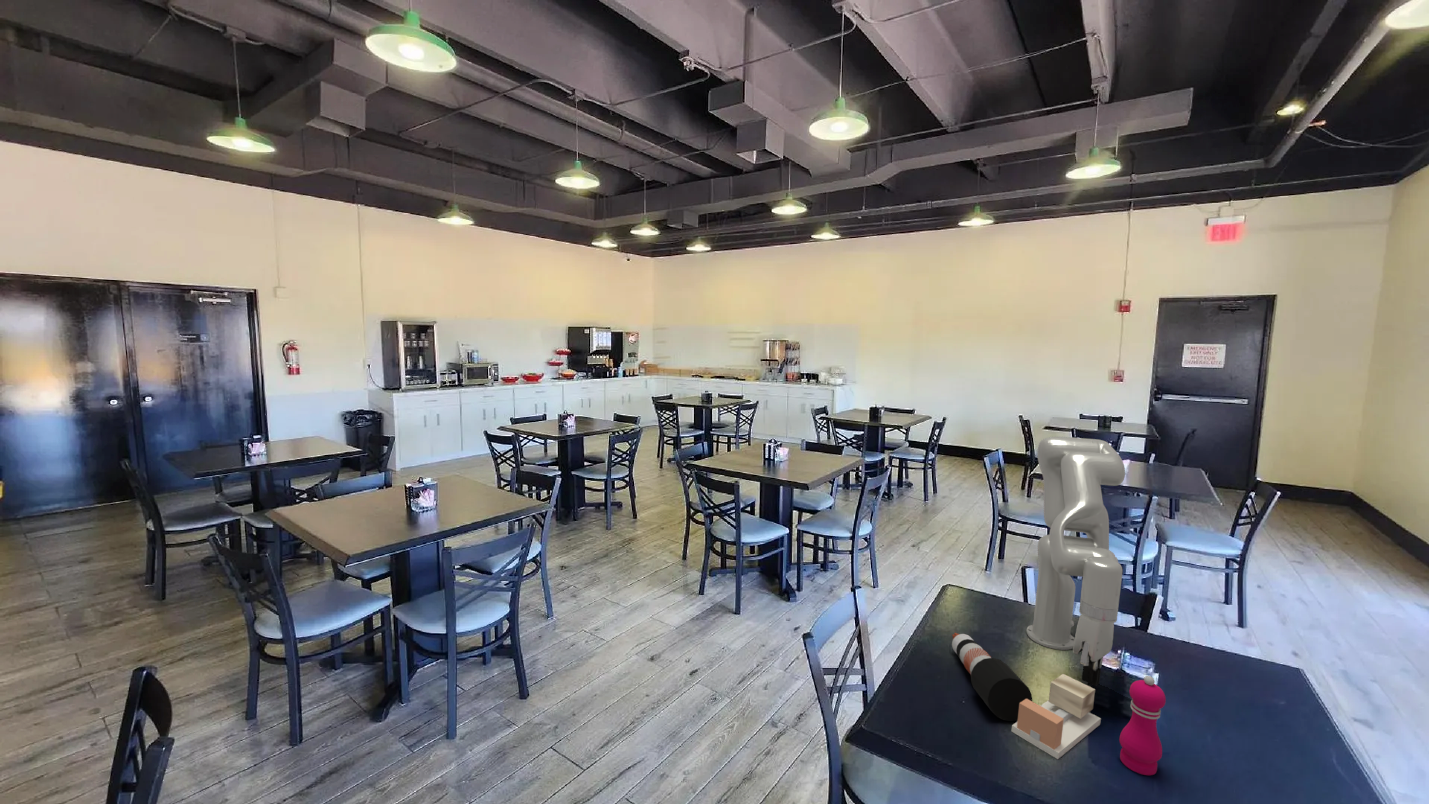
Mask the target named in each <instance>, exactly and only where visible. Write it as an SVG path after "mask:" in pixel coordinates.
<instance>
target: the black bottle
mask: <svg viewBox="0 0 1429 804" xmlns="http://www.w3.org/2000/svg"><path fill="white" fill-rule="evenodd" d="M951 636H952V642H951V646H952V649H953V651H954V652H955V654H956V655H957V657H958V658H959V659H960V662H961V663H962V664H963V666H964V668H965V669H966V671H967V672H968V673H969V674H970V682H971V685H972V687H973V689H974V691H975V692H976V693H977V694H978V696H979V697H980V698H981V699H982V700H983V702H984V703H985V705H986V707H988V708H989V710H990V712H991V713H993V715H995V716H996V718H997V719H998V718H999V719H1000V720H1003V721H1007V722H1013V721H1018V712H1019V703H1020V702H1022V701H1023V700H1025V699H1028V700H1030V701H1032V702H1033V696H1032V692H1031V689H1030V688H1029V687H1028V686H1027V685H1026V683H1025V682H1024V681H1023V680H1022V679H1021V678H1020V676H1019V675H1017V674H1016V673H1015V671H1013V670H1012V668H1011V667H1010V666H1009V665H1008V664H1007V663H1006V662H1004V661H1003V660H1001V659H999V658H996V657H992V656H991V655H990V654H989V652H987V651H986V650H984V648H983V647H982V645H979V644H978V643H977V642H976V641H975V640H974V639H973V638H972V637H971V636H970V635H968V634H965V633H960V634H959V633H958V632H954V634H951Z"/></svg>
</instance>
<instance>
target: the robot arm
mask: <svg viewBox="0 0 1429 804" xmlns="http://www.w3.org/2000/svg"><path fill="white" fill-rule="evenodd" d="M1037 462H1038V465H1039V469H1040V471H1041V475H1042V479H1043V518H1044V519H1043V520H1044V522H1045V524H1046V526H1047V527H1048V528H1050V529H1049V534H1045V535H1043V536H1041V537H1040V538H1039V539H1038V542H1037V557H1038V562H1037V563H1038V572H1037V573H1038V574H1037V575H1038V576H1037V585H1036V594H1035V603H1034V604H1035V605H1034V613H1033V622H1032V624H1030V625H1028V626H1027V628H1026V631H1025V632H1026V635H1027V637H1029V639H1031V641H1034V642H1035V643H1037V644H1039V645H1041V646H1044V647H1046V648H1050V649H1053V650H1060V651H1068V650H1072V652H1073V654H1074V655H1078V654H1080V653H1081V652H1082V653H1081V656H1080V661H1079V664H1081V665H1082V674H1081V680H1082V681H1083V682H1085V683H1088V684H1090V685H1092V686H1094V687H1096V686H1098V685H1099V684H1100V681H1101V672H1102V666H1103V661H1104V660H1103V659H1104V657H1105V656H1107V655H1108V654H1109V653H1110V652H1111V651H1112V648H1113V642H1114V629H1115V623H1117V621H1118V614H1119V604H1120V597H1121V596H1120V595H1121V587H1122V579H1123V567H1122V565H1121V563H1120V562H1119V559H1118V558H1117V556H1116V555H1115V553H1114V552H1113V551H1112V550H1110V521H1109V513H1108V510H1107V508H1106V507H1105V505H1104V501H1103V494H1102V493H1103V492H1102V488H1101V485H1103V486H1112V487H1113V486H1115V487H1116V486H1120V485H1121V484H1122V483H1123V482H1124V480H1125V477H1126V468H1125V464H1124V461H1123V459H1122V458H1121V456H1120V455H1119V453H1118V452H1117V451H1116V449H1114V448H1113V446H1111V445H1110V443H1109V442H1107V441H1105V440H1101V439H1098V438H1097V439H1095V438H1085V437H1083V438H1082V437H1068V436H1050V437H1045V438H1043V439H1041V440H1040V442H1038V446H1037ZM1065 531H1066V532H1074V533H1084V534H1086V537H1081V536H1073V535H1065V534H1064V532H1065ZM1071 576H1074V577H1080V578H1082V582H1081V590H1080V591H1081V592H1080V599H1079V600H1080V601H1079V609H1078V612H1079V614H1080V615H1079V618H1078V621H1077V623H1076V624H1077V625H1076V629H1075V635H1074V636H1073V635H1072V634H1071V631H1072V627H1074V625H1075V621H1074V620H1073V614H1074V606H1075V605H1074V604H1075V598H1076V597H1075V595H1076V584H1075V580H1073V578H1072V577H1071Z"/></svg>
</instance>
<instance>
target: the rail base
mask: <svg viewBox="0 0 1429 804" xmlns="http://www.w3.org/2000/svg"><path fill="white" fill-rule="evenodd" d="M1101 720H1102V718H1101V717H1099V716H1097V715H1095V714H1093V713H1091V712H1088V713H1087V714H1086V715H1085V716H1083V717H1082V718H1081V719H1080V718H1078V717H1076V716H1075V715H1073V714H1071V713H1069V712H1067V711H1065V710H1063V709H1061V708H1060V707H1058V706H1056V705H1054V704H1052V703H1050V702H1049V699H1047V701H1045V702H1043V703H1042V704H1041V705H1039V704H1037V703H1035V702H1034V701H1033V700H1032V701H1030V700H1028V699H1025V700H1023V701H1022V702H1020V703H1019V712H1018V720H1017V721H1016V722H1015V723H1013V724H1012V725H1011V733H1013V734H1015V735H1017V736H1018V737H1020V738H1022V739H1023V740H1025V741H1027V742H1028V743H1030V744H1031V745H1033V746H1035V747H1037V748H1038V749H1040V750H1041V751H1043V752H1045V753H1046V754H1048V755H1050V756H1051V757H1053V758H1055V759H1056V760H1059V759H1060V758H1061V757H1063V756H1064V755H1065V754H1066V753H1067V752H1069V751H1070V750H1071V749H1072V748H1074V746H1076V745H1077V744H1079V743H1080V741H1082V740H1084V738H1085V737H1087V736H1088V735H1089V734H1090V733H1092V732H1093V731H1094V730H1095V729H1096V728H1098V727H1099V726H1100V725H1101Z"/></svg>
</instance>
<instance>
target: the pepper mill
mask: <svg viewBox="0 0 1429 804" xmlns="http://www.w3.org/2000/svg"><path fill="white" fill-rule="evenodd" d="M1128 692H1129V696H1130V697H1131V701H1130V706H1129V707H1130V710H1132V713H1131V716H1130V720H1129V721H1128V723H1127V724H1126V725H1125V726H1124V727H1123V728H1122V730H1121V732H1120V735H1119V738H1118V739H1119V744H1120V746H1121V747H1122V748H1121V749H1120V753H1119V759H1120V761H1121V763H1122V764H1123V765H1124V766H1125V767H1126V768H1127V769H1129V770H1131V771H1133V772H1135V773H1137V774H1139V775H1142V776H1143V775H1144V776H1153V775H1155V774H1157V771H1158V762H1159V761H1160V760H1161V759H1162V756H1163V746H1162V742H1161V740H1160V737H1159V733H1158V730H1157V721H1158V719H1160V718H1161V712H1162V711H1161V709H1162V708H1164V707H1165V705H1166V701H1167V699H1166V695H1165V692H1164V690H1163V689H1162V688H1161V687H1160V686H1159V685H1157V684H1156V682H1155V679H1154V678H1153V677H1152V676H1151V675H1146V676H1144V678H1143V679H1139V680H1135V681H1133V682H1132V683H1131V684H1130V687H1129V691H1128Z"/></svg>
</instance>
